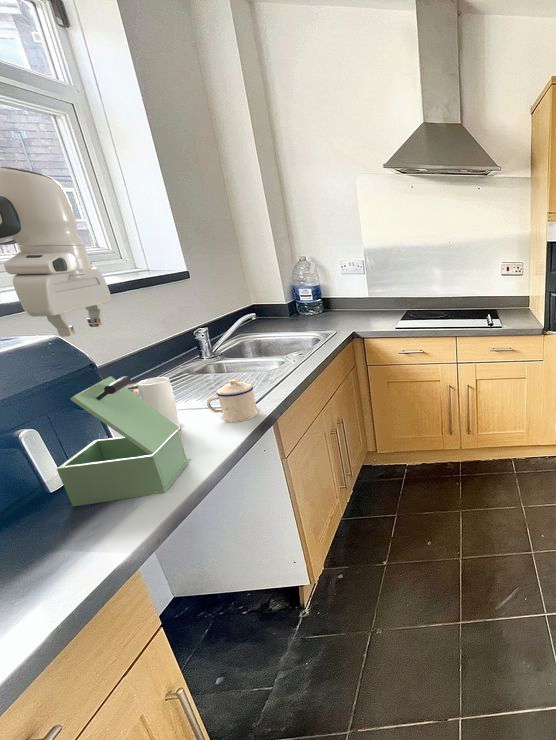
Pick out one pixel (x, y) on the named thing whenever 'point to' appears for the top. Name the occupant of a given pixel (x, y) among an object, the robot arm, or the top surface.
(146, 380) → the white vase
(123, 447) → the storage box
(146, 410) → the box lid
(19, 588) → the top surface
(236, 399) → the teacup with lid
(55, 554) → the top surface
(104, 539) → the top surface
